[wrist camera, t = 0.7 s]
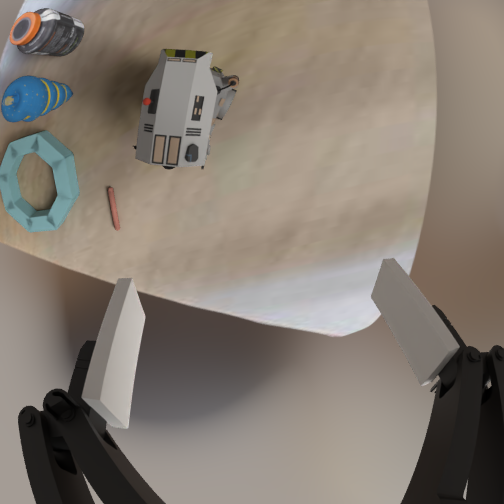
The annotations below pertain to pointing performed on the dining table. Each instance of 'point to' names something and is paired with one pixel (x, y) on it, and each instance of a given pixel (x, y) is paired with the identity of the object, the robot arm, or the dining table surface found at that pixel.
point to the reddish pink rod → (113, 208)
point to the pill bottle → (46, 33)
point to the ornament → (32, 98)
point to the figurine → (182, 109)
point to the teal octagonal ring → (63, 176)
